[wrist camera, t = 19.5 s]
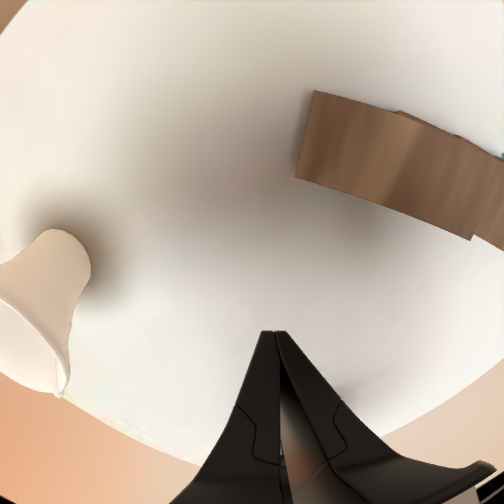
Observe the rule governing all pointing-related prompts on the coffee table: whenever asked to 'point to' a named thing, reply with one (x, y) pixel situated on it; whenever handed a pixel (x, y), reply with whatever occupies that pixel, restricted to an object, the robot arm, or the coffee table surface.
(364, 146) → the tile
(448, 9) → the coffee table surface
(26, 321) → the cup
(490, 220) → the brown wooden plank
